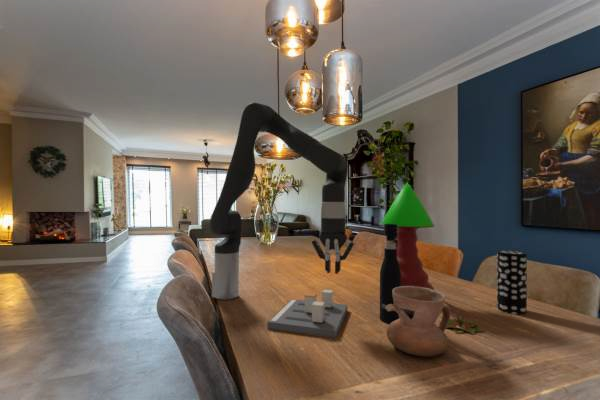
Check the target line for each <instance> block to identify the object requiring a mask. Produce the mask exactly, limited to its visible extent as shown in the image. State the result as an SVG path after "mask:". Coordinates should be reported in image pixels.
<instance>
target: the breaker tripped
mask: <svg viewBox="0 0 600 400" xmlns="http://www.w3.org/2000/svg"><path fill="white" fill-rule="evenodd" d="M317 296H318V295H317V293H316V292H315V293H314V292H306V293H305V294H304V300H305V312H309V313H312V304H313V303H314V301H317Z"/></svg>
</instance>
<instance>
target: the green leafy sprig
mask: <svg viewBox="0 0 600 400" xmlns="http://www.w3.org/2000/svg"><path fill="white" fill-rule="evenodd" d="M464 315H465V316H464ZM451 316H452V318H450V320H449V323H448V325H447V327H446V329H448V328H452V330H453V331H454V333H456V334H457V335H458V334H461V333H466V332H468V333H470V334H472V335H474V336H476V333H475V332H483V333H484V332H485V333H486V331H485V330H482V329H481V328H480V327H478V324H475V323H473V322H471V321H468V320H467V318H468V317H469V316H470V314H467V315H466V313H463V314H460V315H459V313H458V311H456V312H455V311H454V313H453V315H451ZM437 322H439V323H441V320H440V321H439V320H438V321H437ZM457 326H458V327H457ZM476 326H477V327H476ZM462 327H464V328H462ZM458 328H459V329H460V330H458Z"/></svg>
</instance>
